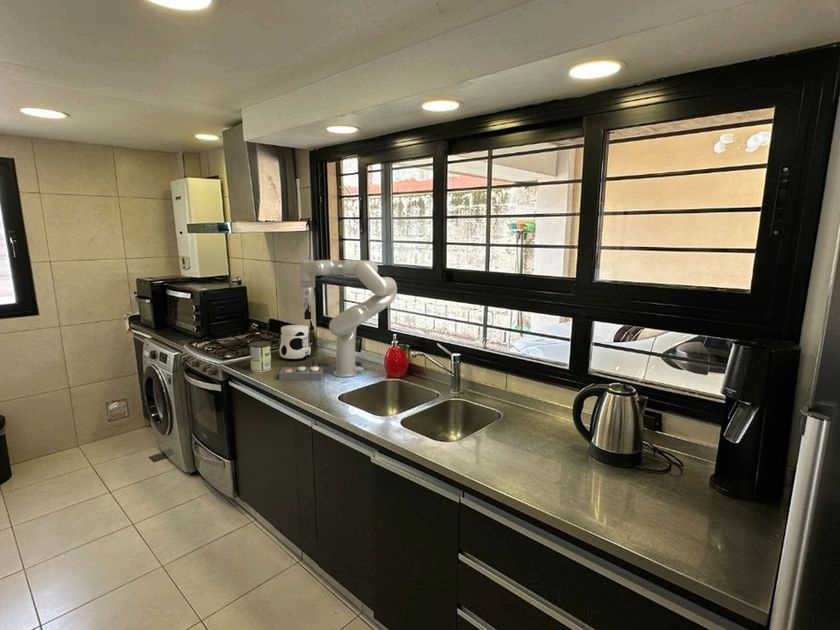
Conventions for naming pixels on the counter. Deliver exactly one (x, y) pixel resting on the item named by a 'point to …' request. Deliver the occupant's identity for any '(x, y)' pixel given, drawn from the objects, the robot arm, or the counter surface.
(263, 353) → the coffee can
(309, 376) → the button panel
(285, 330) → the milk container
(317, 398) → the counter surface
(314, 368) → the cream button
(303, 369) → the green button
